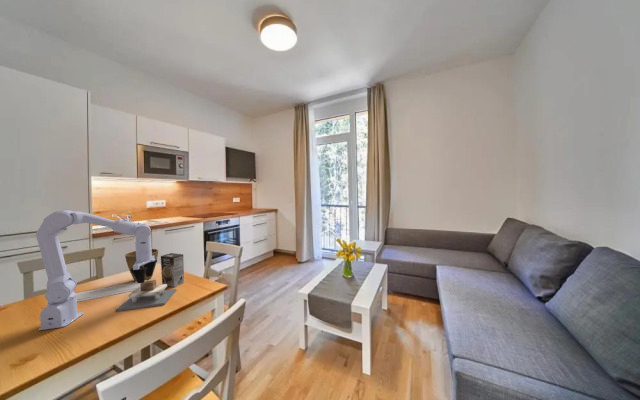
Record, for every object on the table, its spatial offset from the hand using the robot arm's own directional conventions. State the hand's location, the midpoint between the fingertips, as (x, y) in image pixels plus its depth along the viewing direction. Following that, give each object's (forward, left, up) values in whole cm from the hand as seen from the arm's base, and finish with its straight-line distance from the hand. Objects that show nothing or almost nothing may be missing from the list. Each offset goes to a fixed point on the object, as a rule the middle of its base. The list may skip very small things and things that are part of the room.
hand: (145, 279), depth 101 cm
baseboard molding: (+14, +24, -11) cm, 29 cm away
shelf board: (-1, -1, -6) cm, 6 cm away
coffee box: (+16, -5, -10) cm, 20 cm away
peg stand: (-1, -1, -10) cm, 10 cm away
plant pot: (+28, +14, -10) cm, 33 cm away
